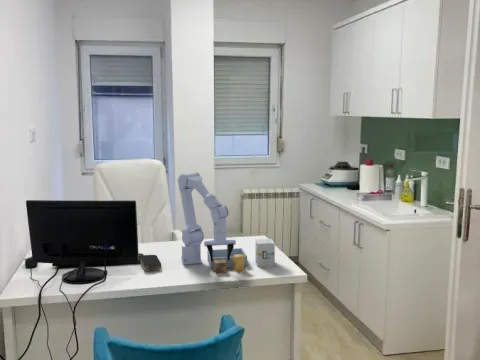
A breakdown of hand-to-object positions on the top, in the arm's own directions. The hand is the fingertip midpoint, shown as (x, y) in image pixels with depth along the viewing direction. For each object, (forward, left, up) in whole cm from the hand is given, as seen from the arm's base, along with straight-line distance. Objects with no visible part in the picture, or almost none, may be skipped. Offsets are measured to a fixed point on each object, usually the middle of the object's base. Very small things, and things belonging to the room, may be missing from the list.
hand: (220, 260), depth 227 cm
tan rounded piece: (+9, 0, -5) cm, 10 cm away
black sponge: (-32, +14, -6) cm, 35 cm away
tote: (+5, +12, -5) cm, 14 cm away
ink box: (+23, +7, -6) cm, 24 cm away
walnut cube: (0, 0, -6) cm, 6 cm away
